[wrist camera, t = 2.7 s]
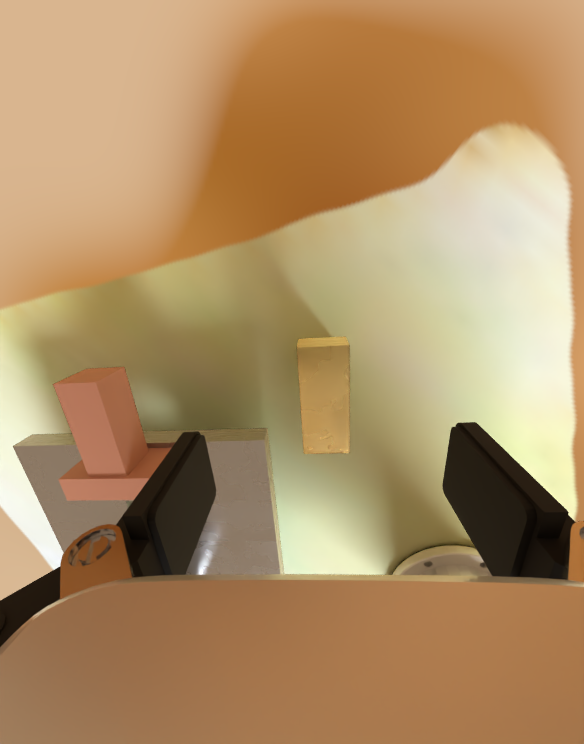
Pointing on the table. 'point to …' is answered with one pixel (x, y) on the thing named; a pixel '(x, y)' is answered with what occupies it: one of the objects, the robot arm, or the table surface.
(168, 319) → the table surface
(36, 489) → the square metal plate
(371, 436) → the table surface
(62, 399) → the bracket
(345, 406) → the yellow block
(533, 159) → the table surface
